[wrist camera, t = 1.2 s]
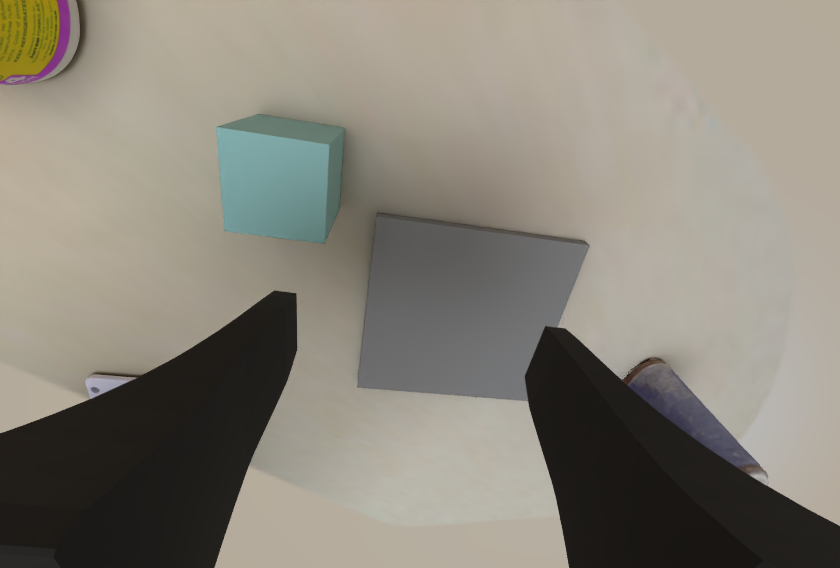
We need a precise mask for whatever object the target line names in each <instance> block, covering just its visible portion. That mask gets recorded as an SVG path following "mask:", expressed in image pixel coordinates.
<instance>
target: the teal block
mask: <svg viewBox="0 0 840 568" xmlns="http://www.w3.org/2000/svg"><path fill="white" fill-rule="evenodd" d="M344 130H345V128H342V127H336V126H329V125H323V124H317V123H311V122H305V121H299V120H292V119H286V118H280V117H274V116H268V115H262V114H257V115H254V116H251V117H248V118H244V119H241V120H238V121H234V122H231V123H228V124H224V125H221V126H218V127H216V132H217V144H218V156H219V169H220V181H221V193H222V205H223V217H224V229H225V231H227V232H235V233H243V234H251V235H259V236H267V237H275V238H283V239H291V240H299V241H307V242H316V243H324V244H325V241H326V239H327V237H328V234H329V232H330V229H331V227H332V224H333V222H334V220H335V217H336V215H337V212H338V210H339V207H340V192H341V176H342V161H343V145H344Z"/></svg>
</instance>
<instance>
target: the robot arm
mask: <svg viewBox="0 0 840 568" xmlns="http://www.w3.org/2000/svg"><path fill="white" fill-rule="evenodd" d="M296 351H297V299H296V293H289V292H281V291H273V292H272V293H270V294H269V295H267V296H266V297H265V298H263V299H262V300H260V301H259V302H258V303H256V304H255V305H254V306H252V307H251V308H250V309H248V310H247V311H246V312H244V313H243V314H241V315H240V316H239V317H237V318H236V319H234V320H233V321H232V322H230V323H229V324H227V325H226V326H224V327H223V328H222V329H220V330H219V331H217V332H216V333H214V334H213V335H211V336H209V337H208V338H206V339H205V340H203V341H202V342H200V343H198V344H197V345H195V346H194V347H192V348H191V349H189V350H187V351H186V352H184V353H182V354H181V355H179V356H177V357H175V358H174V359H172V360H170V361H168V362H166V363H165V364H163V365H161V366H159V367H157V368H155V369H153V370H151V371H149V372H147V373H146V374H144V375H142V376H140V377H138V378H135V377H122V376H109V375H96V374H94V375H90V376H89V377H88V378H87V379H86V380H85V384H86V387H87V390H88V393H89V396H90V399H89V400H87V401H85V402H82V403H80V404H77V405H75V406H72V407H70V408H67V409H65V410H62V411H60V412H57V413H55V414H53V415H50V416H47V417H44V418H42V419H39V420H37V421H34V422H31V423H28V424H26V425H23V426H20V427H17V428H15V429H12V430H9V431H6V432H3V433H0V568H214V567H215V564H216V561H217V558H218V555H219V551H220V548H221V545H222V542H223V539H224V536H225V533H226V530H227V527H228V524H229V521H230V518H231V515H232V512H233V509H234V506H235V503H236V500H237V497H238V494H239V492H240V489H241V486H242V483H243V480H244V477H245V474H246V472H247V469H248V466H249V464H250V462H251V459H252V457H253V454H254V452H255V450H256V448H257V445H258V443H259V441H260V439H261V437H262V435H263V432H264V430H265V428H266V426H267V424H268V422H269V420H270V417H271V415H272V413H273V411H274V409H275V407H276V404H277V402H278V400H279V398H280V396H281V394H282V391H283V389H284V387H285V385H286V382H287V380H288V377H289V374H290V371H291V368H292V365H293V361H294V358H295V355H296ZM525 383H526V390H527V397H528V402H529V408H530V412H531V415H532V418H533V422H534V425H535V429H536V432H537V435H538V438H539V442H540V445H541V448H542V451H543V455H544V458H545V461H546V464H547V468H548V471H549V474H550V477H551V481H552V484H553V488H554V492H555V496H556V500H557V505H558V510H559V515H560V520H561V524H562V530H563V535H564V540H565V546H566V552H567V558H568V564H569V568H840V526H839V525H837V524H835V523H833V522H831V521H829V520H827V519H825V518H823V517H821V516H819V515H817V514H816V513H814V512H812V511H810V510H808V509H806V508H805V507H803V506H801V505H799V504H797V503H796V502H794V501H792V500H790V499H789V498H787V497H785V496H784V495H782V494H780V493H778V492H777V491H775V490H773V489H772V488H770V487H768V486H766V485H765V484H763V483H761V482H760V481H758V480H757V479H755V478H753V477H752V476H750V475H748V474H747V473H745V472H744V471H742V470H740V469H739V468H737V467H736V466H734V465H733V464H731V463H730V462H728V461H727V460H725V459H724V458H722V457H721V456H719V455H717V454H716V453H714V452H713V451H711V450H710V449H708V448H707V447H706V446H704V445H703V444H701V443H700V442H698V441H697V440H696V439H694V438H693V437H691V436H690V435H689V434H687V433H686V432H685V431H683V430H682V429H681V428H679V427H678V426H677V425H675V424H674V423H673V422H671V421H670V420H669V419H667V418H666V417H665V416H663V415H662V414H661V413H660V412H658V411H657V410H656V409H655V408H654V407H652V406H651V405H650V404H649V403H648V402H646V401H645V400H644V399H643V398H642V397H640V396H639V395H638V394H637V393H636V392H635V391H633V390H632V389H631V388H630V387H629V386H628V385H627V384H625V383H624V382H623V381H622V380H621V379H620V378H619V377H618V376H617V375H615V374H614V373H613V372H612V371H611V370H610V369H609V368H608V367H607V366H606V365H605V364H604V363H603V362H601V361H600V360H599V359H598V358H597V357H596V356H595V355H594V354H593V353H592V352H591V351H590V350H589V349H588V348H587V347H586V346H584V345H583V344H582V343H581V342H580V341H579V340H578V339H577V338H576V337H575V336H574V335H572V334H571V333H570V332H569V331H568V330H566V329H564V328H557V327H549V326H545V328H544V330H543V332H542V335H541V337H540V340H539V342H538V345H537V347H536V350H535V352H534V354H533V357H532V359H531V362H530V364H529V367H528V369H527V371H526V374H525Z"/></svg>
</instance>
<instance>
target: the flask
mask: <svg viewBox="0 0 840 568" xmlns="http://www.w3.org/2000/svg"><path fill="white" fill-rule="evenodd" d="M628 374H630V375H629V376H627V377H626V378H625V379H624V380H622V381H623V382H624V383H625V384H627V385H628V386H629V387H630V388H631V389H632V390H633V391H635V392H636V393H637V394H638V395H639V396H640V397H642V398H643V399H644V400H645V401H646V402H648V403H649V404H650V405H651V406H652V407H654V408H655V409H656V410H657V411H658V412H660V413H661V414H662V415H663V416H665V417H666V418H667V419H669V420H670V421H671V422H673V423H674V424H675V425H677V426H678V427H679V428H681V429H682V430H683V431H685V432H686V433H687V434H689V435H690V436H691V437H693V438H694V439H696V440H697V441H698V442H700V443H701V444H703V445H704V446H706V447H707V448H708V449H710V450H711V451H713V452H714V453H716V454H717V455H719V456H721V457H722V458H724V459H725V460H727V461H728V462H730V463H731V464H733V465H734V466H736V467H737V468H739V469H740V470H742V471H744V472H745V473H747V474H748V475H750V476H752V477H753V478H755V479H757V480H758V481H760V482H761V483H763V484H765V485H766V486H767V484H768V475H767V473H766V471H764V470H763V469H762V468H761V467H760V465H759V463H757V462H756V460H755V459H754V458H753V457H752V456H751V455H750V454H749V453H748V452H747V451H746V450H745V449H744V448H743V447H742V446H741V445H740V444H739V443H738V442H737V440H736V439H735V438H734V437H733V436H732V435H731V434H730V433H729V432H728V430H727V429H726V428H725V427H724V426H723V425H722V424H721V423H720V422H719V421H718V420H717V419H716V418H715V416H714V415H713V414H712V413H711V412H710V411H709V410H708V409H707V408H706V407H705V406H704V405H703V403H702V402H701V401H700V400H699V399H698V398H697V397H696V396H695V395H694V393H693V392H692V391H691V390H690V389H689V388H688V387H687V386H686V385H685V384H684V382H683V381H682V380H681V379H680V378H679V377H678V376H677V375H676V374H675V373H674V372H673V370H672V369H671V368H670V367H669V366H668V365H667V364H666V363H664V362H663V361H661V360H658V359H655V358H651V359H650V360H649V361H647V362H645V363H642V364H639V365H638V366H636V367H635V368H634V369H632V370H631V371H629V372H628Z"/></svg>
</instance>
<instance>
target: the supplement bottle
mask: <svg viewBox="0 0 840 568" xmlns="http://www.w3.org/2000/svg"><path fill="white" fill-rule="evenodd" d="M79 37H80V22H79V12H78V7H77V2H76V0H0V85H14V84H26V83H34V82H39V81H43V80H46V79H49V78H51V77H53V76H54V75H56V74H58V73H59V72H60V71H62V70H63V69H64V68H65V67H66V66H67V65H68V64H69V63H70V61H71V59H72V58H73V56H74V54H75V52H76V49H77V46H78V42H79Z"/></svg>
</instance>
